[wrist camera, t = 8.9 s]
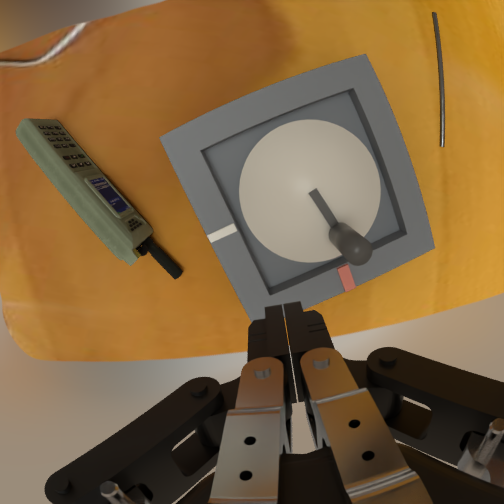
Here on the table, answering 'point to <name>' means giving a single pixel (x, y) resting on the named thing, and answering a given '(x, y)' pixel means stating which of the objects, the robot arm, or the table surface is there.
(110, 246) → the handheld radio
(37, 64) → the table surface
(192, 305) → the table surface
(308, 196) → the dial
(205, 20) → the table surface
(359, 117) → the panel
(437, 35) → the rod
